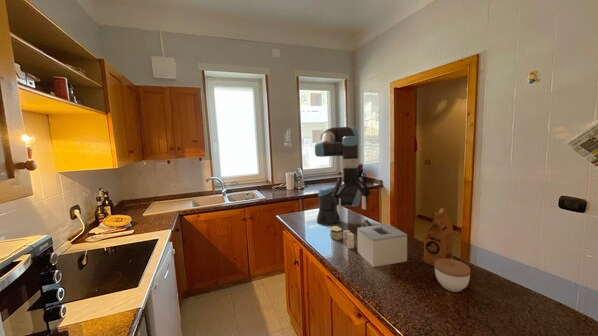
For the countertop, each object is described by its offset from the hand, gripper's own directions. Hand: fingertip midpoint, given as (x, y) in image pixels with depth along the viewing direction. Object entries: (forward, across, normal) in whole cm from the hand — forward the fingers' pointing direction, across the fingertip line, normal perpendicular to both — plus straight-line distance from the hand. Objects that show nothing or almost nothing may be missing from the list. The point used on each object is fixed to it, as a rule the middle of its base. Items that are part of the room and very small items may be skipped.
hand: (351, 210), depth 122 cm
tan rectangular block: (+18, -2, 0) cm, 18 cm away
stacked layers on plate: (+18, -4, +12) cm, 22 cm away
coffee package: (+19, +26, -26) cm, 42 cm away
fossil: (+17, +15, +9) cm, 24 cm away
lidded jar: (+20, +17, -42) cm, 50 cm away
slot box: (+19, +7, -15) cm, 25 cm away
